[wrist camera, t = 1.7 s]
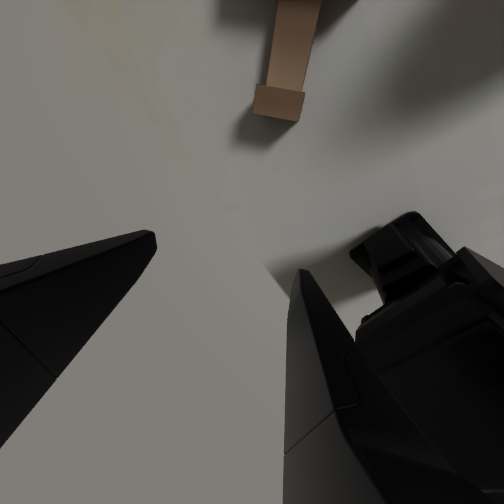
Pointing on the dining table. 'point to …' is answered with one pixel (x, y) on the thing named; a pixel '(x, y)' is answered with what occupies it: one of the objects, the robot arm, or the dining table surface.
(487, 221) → the dining table surface
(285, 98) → the wooden box with handle
